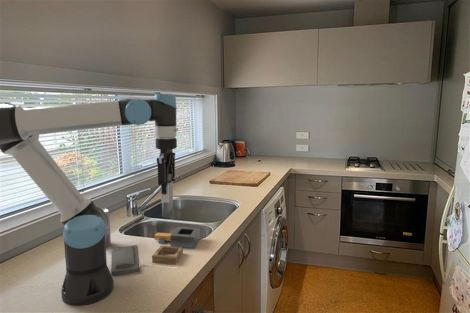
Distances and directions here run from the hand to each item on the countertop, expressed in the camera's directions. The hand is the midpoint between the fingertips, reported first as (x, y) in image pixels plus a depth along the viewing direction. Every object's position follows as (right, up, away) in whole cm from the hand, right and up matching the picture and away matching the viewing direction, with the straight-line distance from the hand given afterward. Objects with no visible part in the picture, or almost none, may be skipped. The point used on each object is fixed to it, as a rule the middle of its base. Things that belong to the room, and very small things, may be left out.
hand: (167, 200), depth 121 cm
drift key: (-5, -19, +18) cm, 27 cm away
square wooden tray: (-1, -24, +4) cm, 24 cm away
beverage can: (-30, -21, +16) cm, 40 cm away
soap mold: (-17, -24, +3) cm, 30 cm away
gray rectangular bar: (0, -6, +1) cm, 6 cm away
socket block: (+1, -21, +18) cm, 28 cm away
